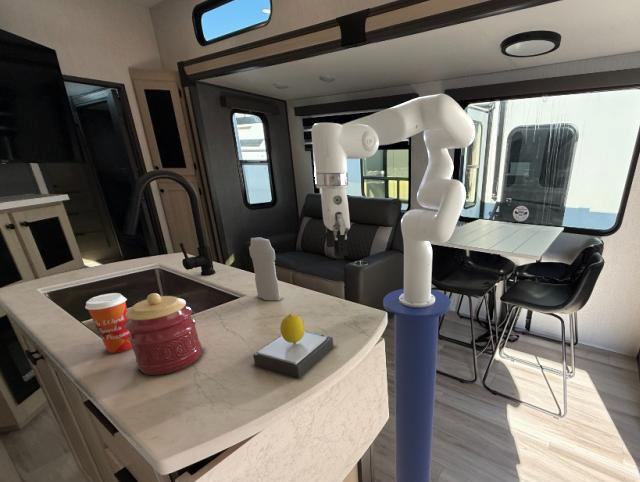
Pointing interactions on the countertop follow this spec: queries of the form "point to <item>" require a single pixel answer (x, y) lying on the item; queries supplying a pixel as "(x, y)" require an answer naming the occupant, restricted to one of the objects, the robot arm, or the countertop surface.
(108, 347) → the paper cup
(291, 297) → the countertop surface
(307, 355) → the scale
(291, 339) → the lemon
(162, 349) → the kitchen canister
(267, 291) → the grey stone slab
